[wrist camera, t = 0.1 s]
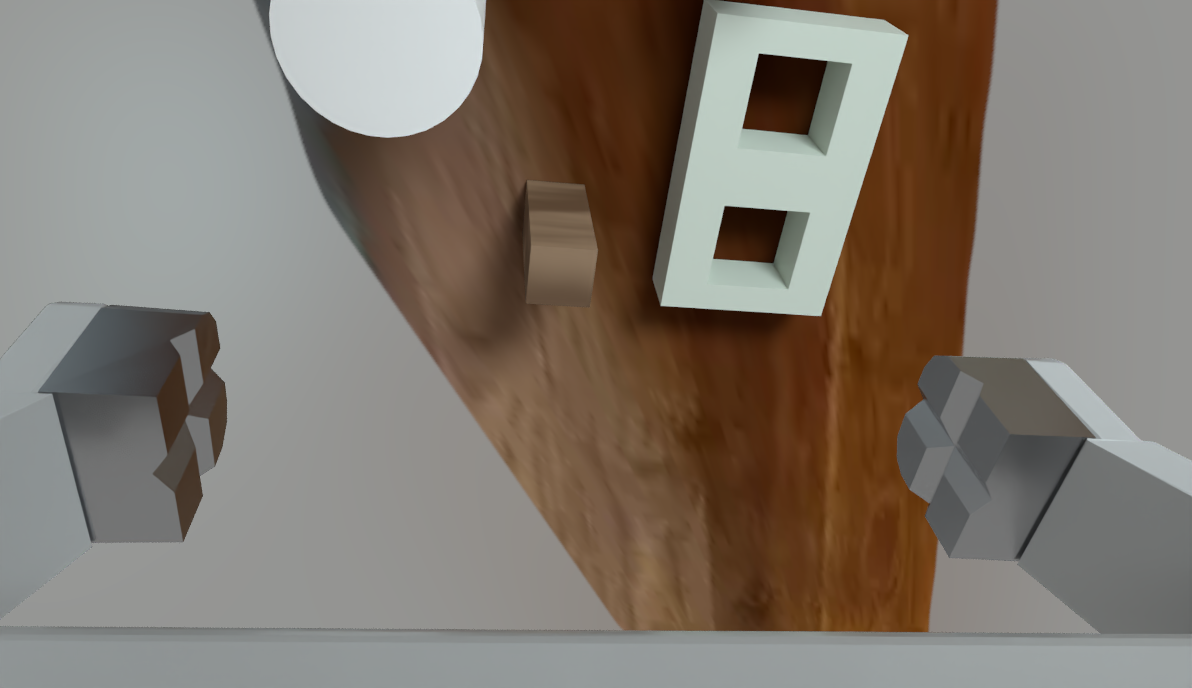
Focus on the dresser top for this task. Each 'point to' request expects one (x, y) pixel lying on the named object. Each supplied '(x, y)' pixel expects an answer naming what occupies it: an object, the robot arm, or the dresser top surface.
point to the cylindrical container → (380, 59)
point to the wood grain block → (558, 244)
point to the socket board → (772, 156)
